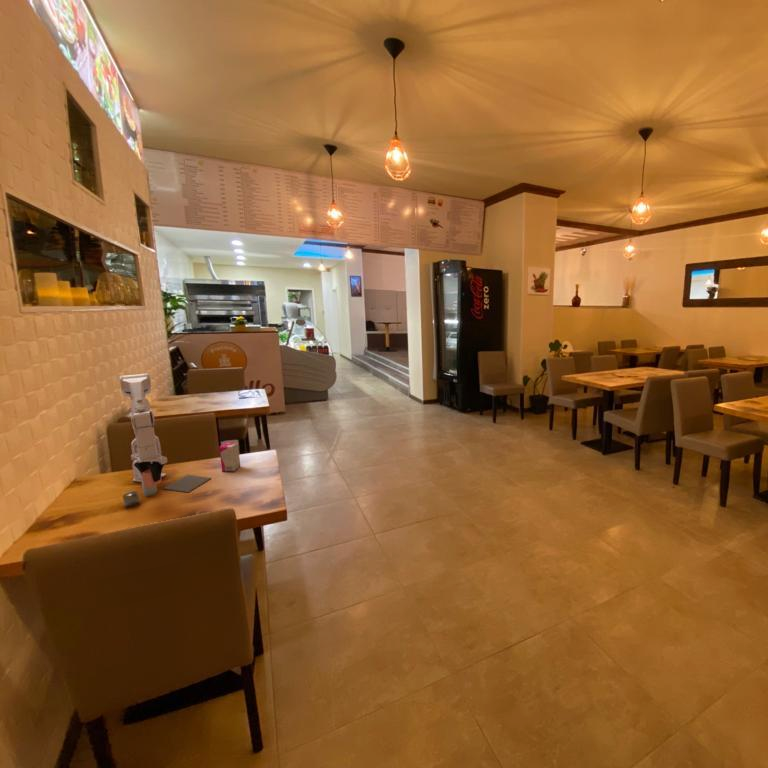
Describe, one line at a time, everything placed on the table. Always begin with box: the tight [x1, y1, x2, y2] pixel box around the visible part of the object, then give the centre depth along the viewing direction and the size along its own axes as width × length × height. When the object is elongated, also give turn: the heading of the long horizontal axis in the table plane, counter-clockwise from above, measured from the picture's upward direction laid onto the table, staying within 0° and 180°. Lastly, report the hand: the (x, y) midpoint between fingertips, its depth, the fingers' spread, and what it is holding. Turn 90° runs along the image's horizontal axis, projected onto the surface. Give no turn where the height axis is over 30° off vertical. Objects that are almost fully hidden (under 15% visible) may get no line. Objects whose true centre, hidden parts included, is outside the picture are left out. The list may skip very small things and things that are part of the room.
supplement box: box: [219, 442, 241, 473], centre depth 158 cm, size 6×6×12 cm
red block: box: [142, 469, 163, 487], centre depth 132 cm, size 4×4×5 cm
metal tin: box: [122, 490, 140, 508], centre depth 131 cm, size 4×4×4 cm
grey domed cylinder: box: [141, 482, 158, 497], centre depth 139 cm, size 4×4×5 cm
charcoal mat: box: [163, 474, 212, 494], centre depth 146 cm, size 12×12×1 cm
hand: (152, 479), depth 132 cm, fingers closed on red block, 4 cm apart
